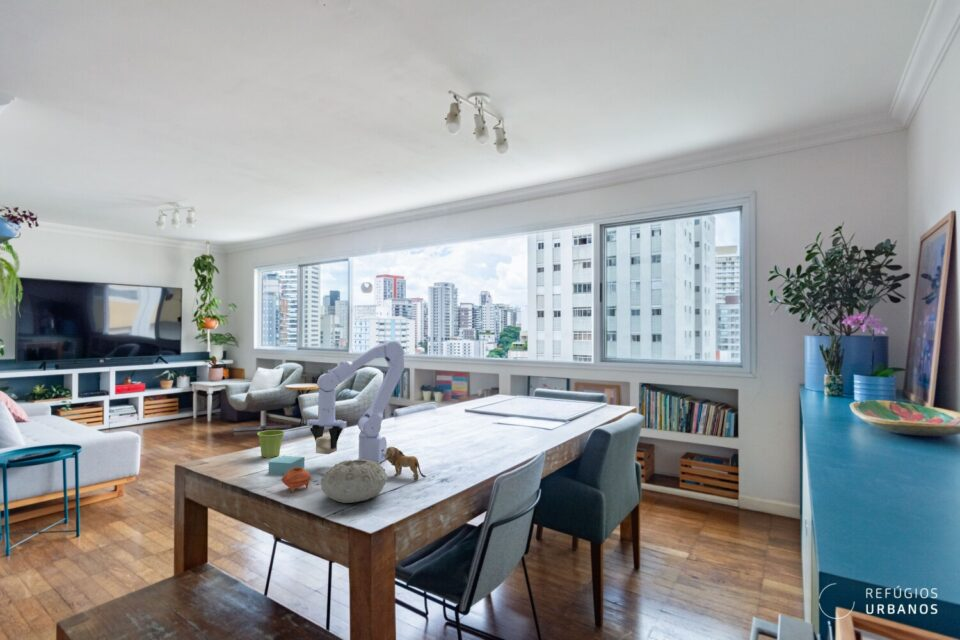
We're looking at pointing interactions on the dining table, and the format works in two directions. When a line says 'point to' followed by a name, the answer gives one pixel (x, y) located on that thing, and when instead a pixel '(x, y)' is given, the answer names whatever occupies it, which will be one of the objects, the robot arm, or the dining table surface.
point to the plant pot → (270, 442)
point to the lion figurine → (402, 461)
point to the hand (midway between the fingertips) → (326, 447)
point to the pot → (296, 478)
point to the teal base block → (285, 464)
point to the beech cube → (324, 445)
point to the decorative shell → (354, 480)
